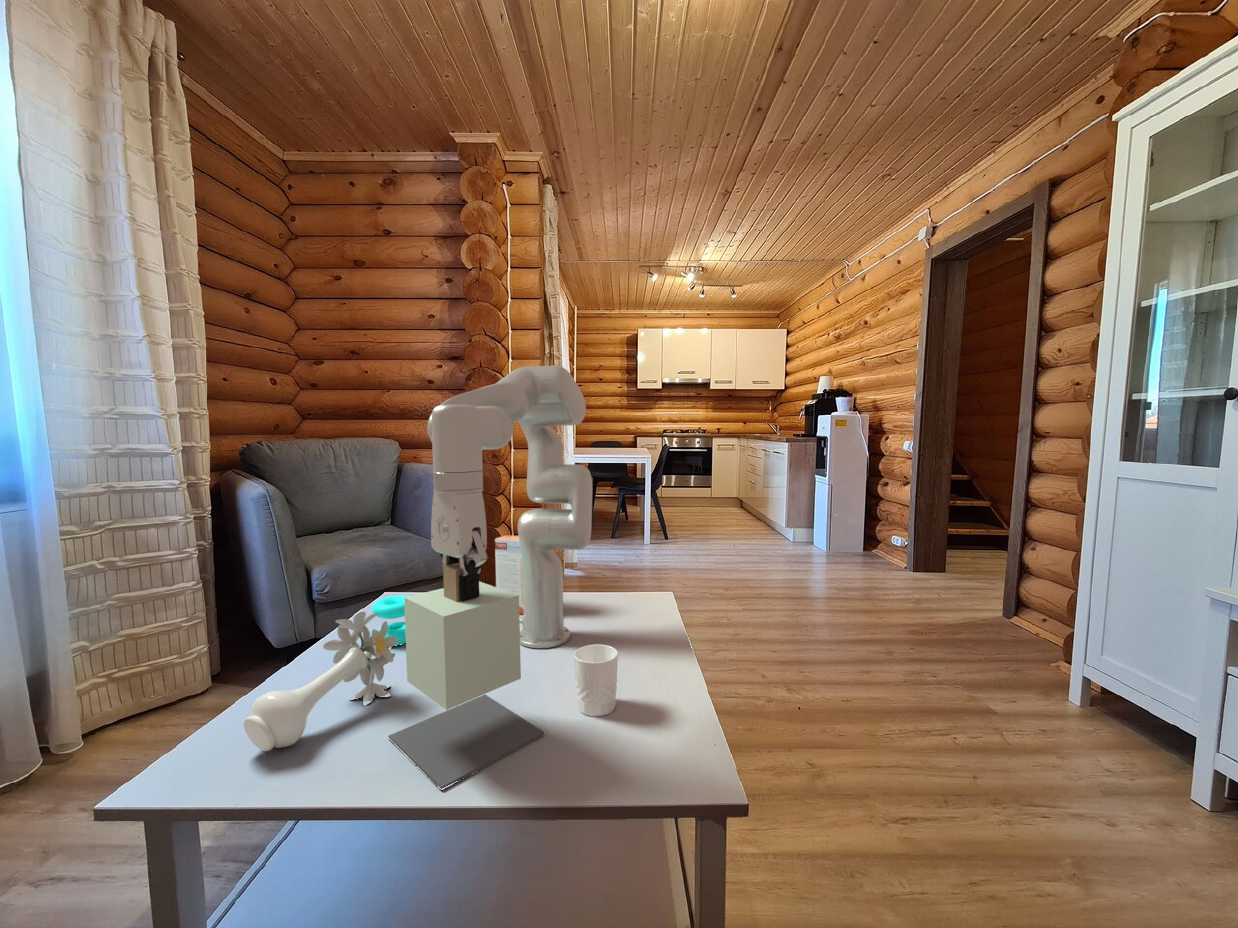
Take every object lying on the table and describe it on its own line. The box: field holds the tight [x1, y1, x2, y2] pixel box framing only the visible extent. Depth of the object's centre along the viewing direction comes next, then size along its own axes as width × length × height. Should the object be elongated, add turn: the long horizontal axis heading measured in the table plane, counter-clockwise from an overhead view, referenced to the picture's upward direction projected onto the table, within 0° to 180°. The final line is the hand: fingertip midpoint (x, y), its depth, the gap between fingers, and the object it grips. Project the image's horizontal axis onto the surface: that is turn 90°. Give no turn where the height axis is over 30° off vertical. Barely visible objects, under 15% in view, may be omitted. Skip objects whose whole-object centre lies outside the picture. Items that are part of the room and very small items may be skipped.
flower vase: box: [243, 611, 398, 752], centre depth 90 cm, size 13×18×25 cm
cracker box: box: [494, 535, 524, 616], centre depth 143 cm, size 14×6×21 cm, turn 65°
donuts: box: [371, 594, 409, 645], centre depth 124 cm, size 10×10×10 cm
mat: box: [387, 694, 545, 789], centre depth 84 cm, size 18×18×1 cm
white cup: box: [573, 643, 619, 717], centre depth 93 cm, size 8×8×10 cm
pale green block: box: [404, 561, 522, 711], centre depth 83 cm, size 13×13×19 cm
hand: (461, 594), depth 82 cm, fingers closed on pale green block, 4 cm apart
